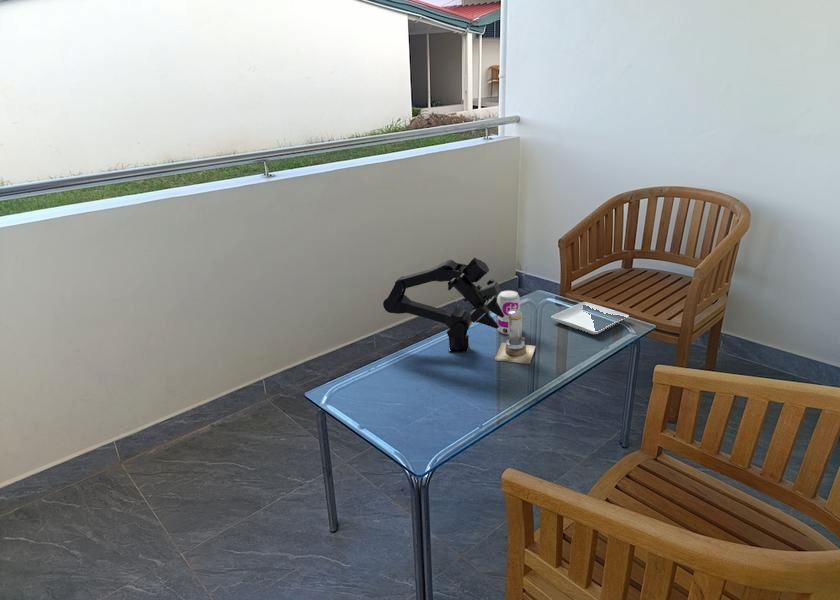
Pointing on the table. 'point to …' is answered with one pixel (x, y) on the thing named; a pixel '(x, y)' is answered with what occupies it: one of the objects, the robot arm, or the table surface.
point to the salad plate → (584, 317)
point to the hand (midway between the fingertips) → (500, 322)
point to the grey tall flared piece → (515, 330)
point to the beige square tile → (515, 354)
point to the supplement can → (507, 308)
